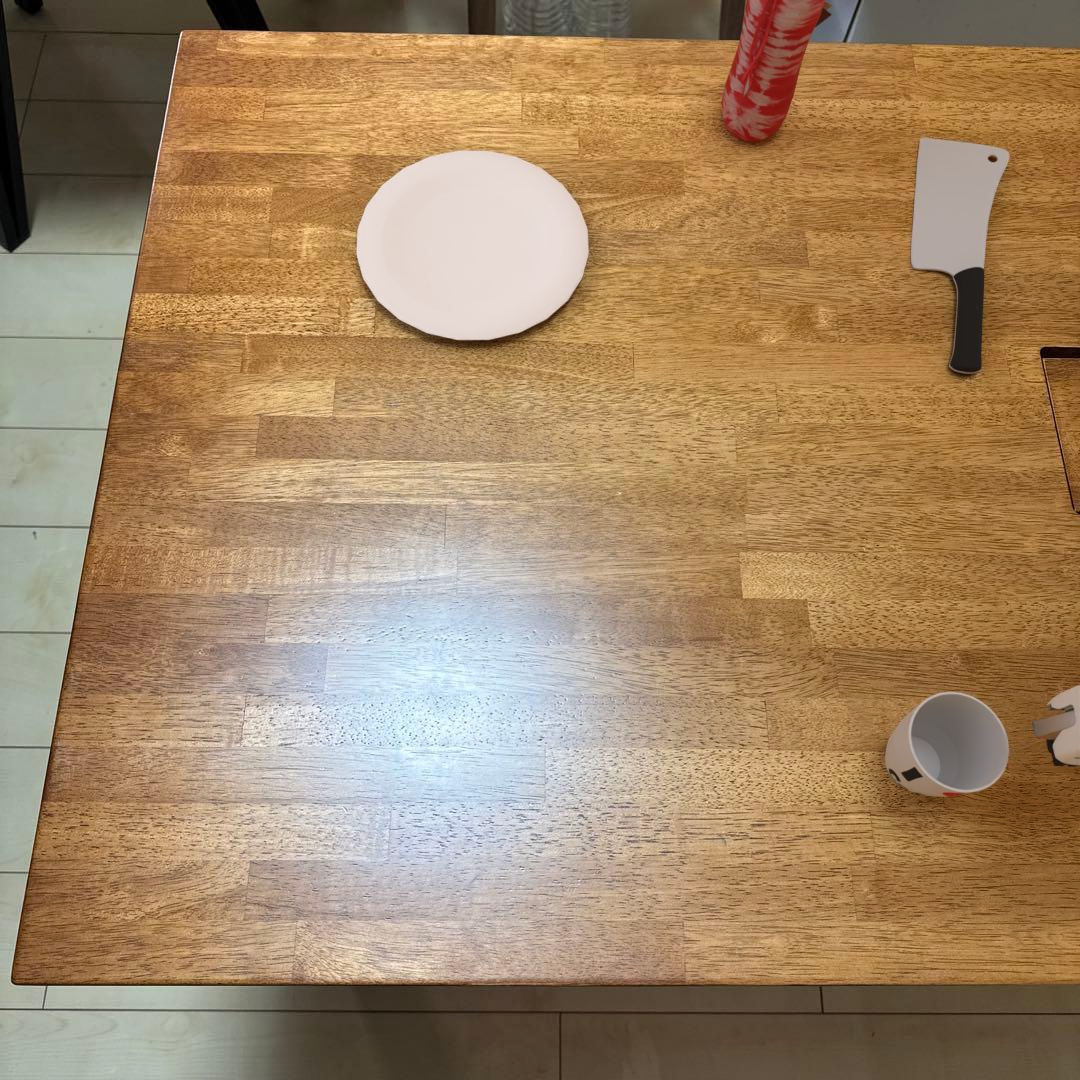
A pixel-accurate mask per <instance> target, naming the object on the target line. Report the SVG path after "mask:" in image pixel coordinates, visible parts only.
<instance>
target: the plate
mask: <svg viewBox="0 0 1080 1080" xmlns="http://www.w3.org/2000/svg"><path fill="white" fill-rule="evenodd" d="M356 231H357V232H356V233H357V234H356V236H357V237H356V252H355V253H356V258H357V262H358V266H359V269H360V272H361V276H362V279H363V281H364V283H365V285H366V286H367V288H368V289H369V290H370V293H372V295H373V297H374V298H375V300H376V301H377V303H378V304H380V305H381V306H382V307H383V308H384V309H385V310H387V312H388V313H390V314H391V315H392V316H394V317H395V318H396V319H397V320H398V321H400V322H401V323H403V324H406V325H407V326H410V327H411V328H414V329H416V330H418V331H420V332H422V333H424V334H426V335H430V336H434V337H439V338H443V339H447V340H453V341H457V342H478V341H479V342H482V341H483V342H486V341H487V342H488V341H493V340H497V339H502V338H506V337H511V336H516V335H519V334H522V333H524V332H526V331H527V330H529V329H531V328H533V327H535V326H537V325H539V324H542V323H544V322H545V321H547V320H548V319H550V318H551V317H552V316H553V315H554V314H556V313H557V311H558V310H560V309H561V308H562V307H563V306H564V305H565V304H567V303H568V302H569V301H570V299H571V297H572V296H573V294H574V292H575V291H576V289H577V288H578V286H579V284H580V283H581V281H582V280H583V277H584V273H585V270H586V266H587V263H588V258H589V254H590V250H589V232H588V231H589V230H588V226H587V224H586V221H585V219H584V216H583V213H582V211H581V208H580V206H579V204H578V202H577V201H576V200H575V198H574V197H573V196H572V194H571V193H570V192H569V191H568V189H567V188H566V187H565V186H564V184H563V183H561V182H560V181H559V180H557V179H556V178H555V177H554V176H552V175H551V174H549V172H547V171H546V170H544V169H543V168H542V167H540V166H537V165H536V164H534V163H531V162H529V161H526V160H524V159H522V158H520V157H517V156H514V155H509V154H506V153H500V152H496V151H492V150H491V151H490V150H454V151H450V152H445V153H441V154H436V155H430V156H428V157H425V158H424V159H421V160H419V161H417V162H414V163H412V164H409V165H408V166H406V167H403V168H402V169H401V170H400V171H397V173H396V174H394V175H393V176H391V177H390V178H389V179H388V180H387V181H385V182H384V183H383V184H381V186H380V187H379V188H378V189H377V191H376V192H375V194H374V195H373V196H372V198H371V199H370V200H369V201H368V203H367V204H366V206H365V209H364V211H363V212H362V216H361V219H360V222H359V223H358V227H357V230H356Z"/></svg>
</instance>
